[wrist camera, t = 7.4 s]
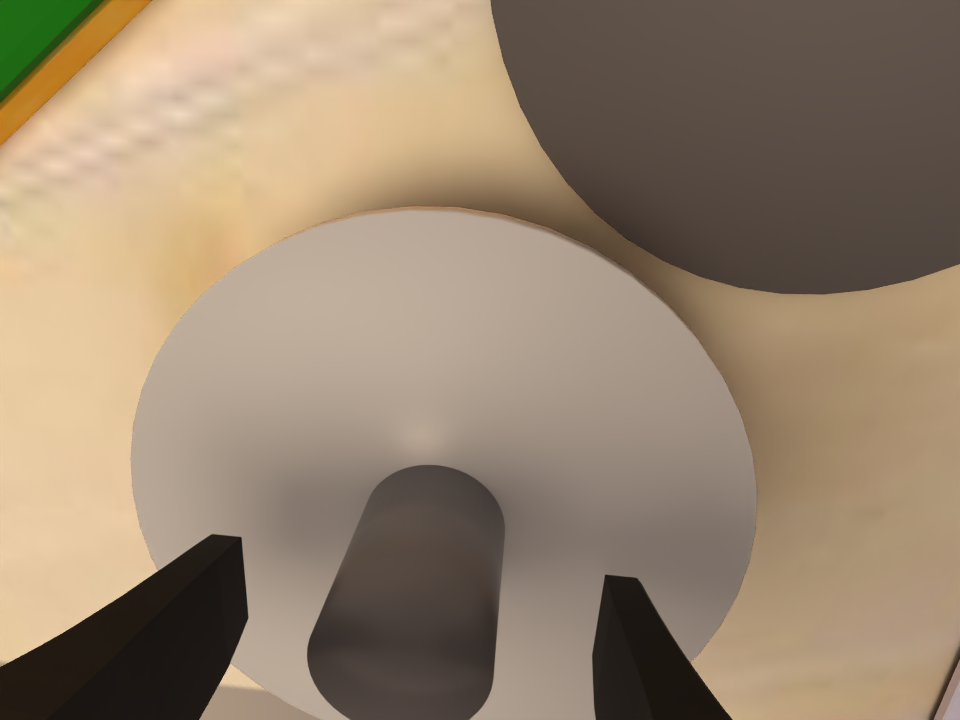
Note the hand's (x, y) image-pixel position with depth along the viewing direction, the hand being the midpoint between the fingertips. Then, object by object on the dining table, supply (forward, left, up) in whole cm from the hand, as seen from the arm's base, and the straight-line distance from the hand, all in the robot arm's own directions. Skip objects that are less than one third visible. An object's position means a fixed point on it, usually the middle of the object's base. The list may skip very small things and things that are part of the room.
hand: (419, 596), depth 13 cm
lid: (0, 0, -3) cm, 3 cm away
